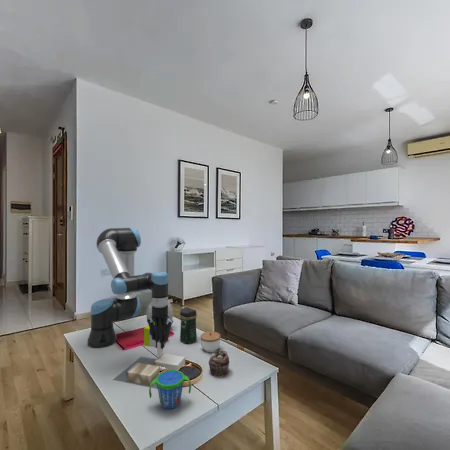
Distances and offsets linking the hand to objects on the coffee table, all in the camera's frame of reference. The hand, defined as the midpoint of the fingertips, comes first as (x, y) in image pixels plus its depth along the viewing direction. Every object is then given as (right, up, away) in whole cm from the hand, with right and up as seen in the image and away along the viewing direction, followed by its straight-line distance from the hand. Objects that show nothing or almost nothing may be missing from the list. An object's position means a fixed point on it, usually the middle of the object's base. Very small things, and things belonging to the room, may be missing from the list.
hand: (160, 354), depth 132 cm
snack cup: (+10, -7, -26) cm, 28 cm away
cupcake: (+28, -6, -4) cm, 29 cm away
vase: (-10, -5, +43) cm, 44 cm away
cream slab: (-1, -3, 0) cm, 4 cm away
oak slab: (-11, -4, -8) cm, 14 cm away
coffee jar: (+10, -5, +29) cm, 31 cm away
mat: (-3, -6, -5) cm, 8 cm away
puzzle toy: (-8, -6, +26) cm, 27 cm away
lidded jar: (+23, -6, +17) cm, 29 cm away
